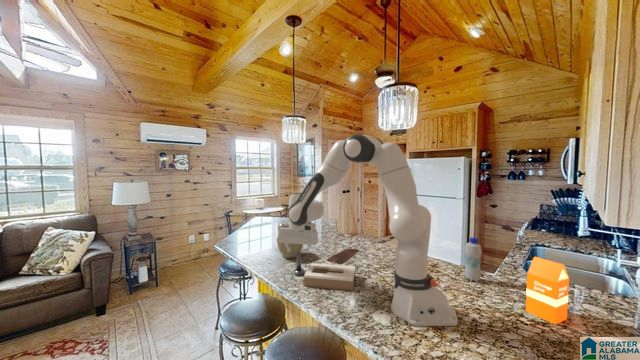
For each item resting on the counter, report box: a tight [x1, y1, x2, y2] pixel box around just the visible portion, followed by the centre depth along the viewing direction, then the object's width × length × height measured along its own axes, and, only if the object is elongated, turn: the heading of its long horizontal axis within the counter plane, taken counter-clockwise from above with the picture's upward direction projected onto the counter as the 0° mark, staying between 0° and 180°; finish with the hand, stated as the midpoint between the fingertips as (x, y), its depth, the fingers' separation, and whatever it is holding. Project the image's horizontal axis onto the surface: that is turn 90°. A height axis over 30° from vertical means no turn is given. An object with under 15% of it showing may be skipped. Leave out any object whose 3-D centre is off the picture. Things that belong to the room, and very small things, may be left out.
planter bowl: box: [276, 237, 304, 259], centre depth 151 cm, size 16×16×11 cm
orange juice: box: [525, 256, 570, 325], centre depth 89 cm, size 8×9×20 cm
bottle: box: [464, 237, 482, 283], centre depth 117 cm, size 7×7×20 cm
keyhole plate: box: [303, 262, 356, 291], centre depth 118 cm, size 22×14×5 cm, turn 78°
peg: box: [293, 251, 305, 277], centre depth 126 cm, size 5×5×11 cm
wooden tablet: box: [326, 248, 359, 265], centre depth 150 cm, size 26×2×10 cm
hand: (298, 251), depth 126 cm, fingers open, 8 cm apart
